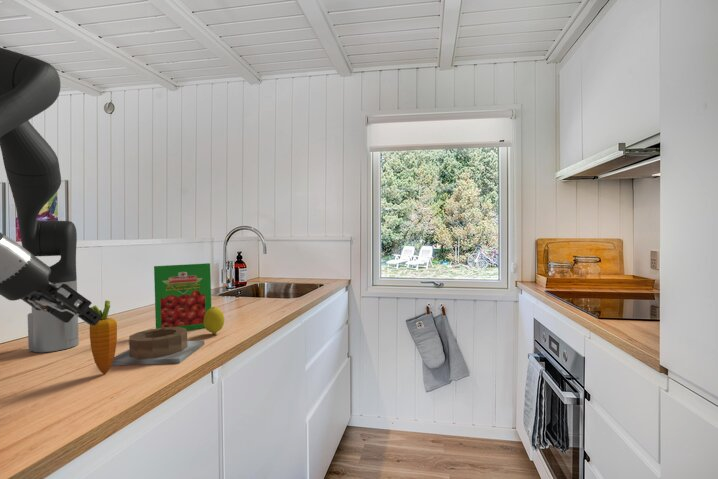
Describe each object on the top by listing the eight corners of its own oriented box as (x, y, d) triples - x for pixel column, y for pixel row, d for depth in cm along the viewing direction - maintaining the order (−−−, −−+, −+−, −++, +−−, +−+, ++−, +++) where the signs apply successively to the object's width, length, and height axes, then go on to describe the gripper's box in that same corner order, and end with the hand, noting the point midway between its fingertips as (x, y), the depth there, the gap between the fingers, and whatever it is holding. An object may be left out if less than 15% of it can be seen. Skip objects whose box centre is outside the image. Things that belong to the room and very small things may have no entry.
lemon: (217, 337, 101) (216, 308, 101) (199, 336, 102) (199, 308, 102) (228, 331, 106) (227, 304, 106) (211, 331, 107) (210, 304, 107)
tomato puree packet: (155, 334, 105) (153, 266, 105) (156, 333, 106) (154, 266, 106) (212, 327, 113) (210, 263, 112) (211, 326, 114) (210, 263, 113)
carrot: (96, 380, 71) (94, 304, 71) (85, 375, 74) (83, 302, 74) (123, 372, 75) (121, 300, 75) (112, 367, 78) (110, 298, 78)
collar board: (106, 365, 79) (105, 343, 79) (141, 346, 93) (141, 327, 93) (179, 363, 80) (179, 340, 80) (204, 344, 94) (203, 325, 94)
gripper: (49, 250, 60) (120, 306, 71) (3, 250, 66) (75, 302, 76) (9, 286, 55) (92, 340, 66) (-36, 283, 61) (47, 334, 71)
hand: (83, 320), depth 71 cm, fingers open, 8 cm apart
